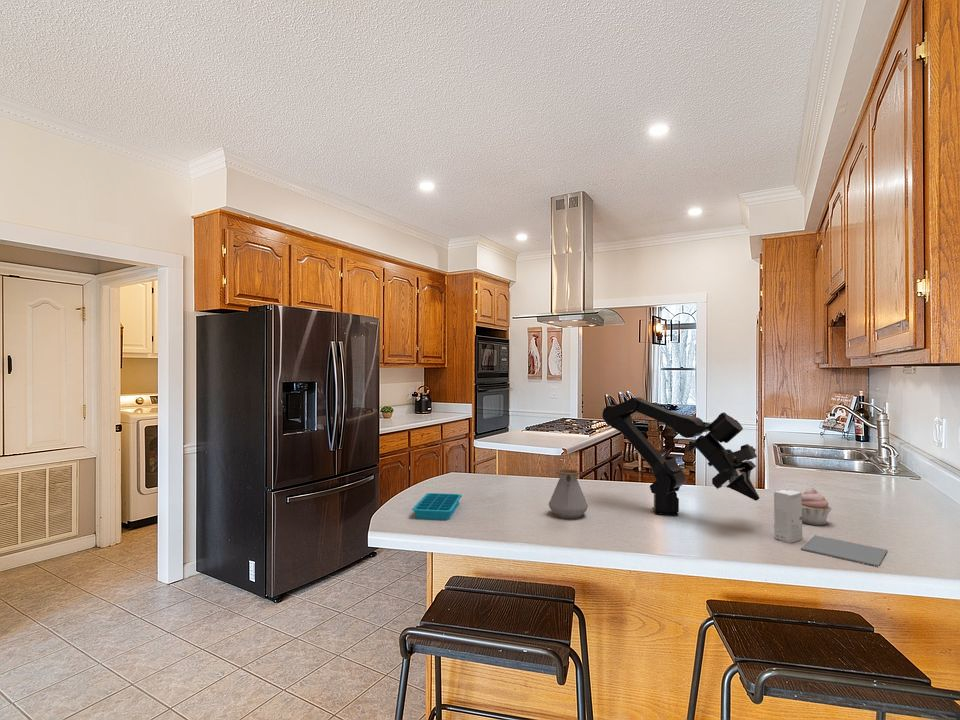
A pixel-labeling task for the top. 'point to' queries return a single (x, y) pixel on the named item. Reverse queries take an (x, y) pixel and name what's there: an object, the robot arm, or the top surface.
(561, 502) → the coffee pot
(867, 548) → the mat
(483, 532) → the top surface
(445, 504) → the ice cube tray
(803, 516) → the cupcake
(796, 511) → the skincare box
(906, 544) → the top surface
